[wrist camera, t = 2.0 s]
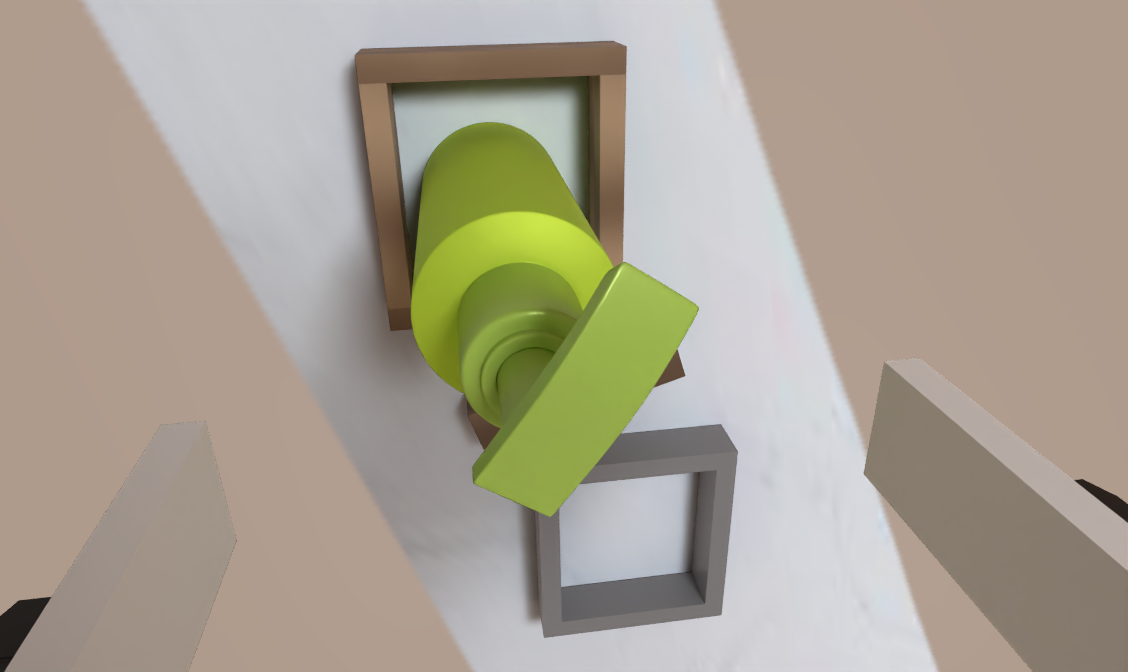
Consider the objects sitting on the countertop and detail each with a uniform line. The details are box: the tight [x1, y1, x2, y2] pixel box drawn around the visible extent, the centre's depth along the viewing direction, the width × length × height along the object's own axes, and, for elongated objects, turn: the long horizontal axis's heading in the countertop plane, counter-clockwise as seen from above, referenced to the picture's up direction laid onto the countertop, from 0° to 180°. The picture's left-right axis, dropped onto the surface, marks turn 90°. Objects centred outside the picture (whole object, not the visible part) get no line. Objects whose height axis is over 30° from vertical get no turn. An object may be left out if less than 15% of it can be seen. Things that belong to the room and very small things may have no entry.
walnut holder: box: [355, 41, 627, 331], centre depth 31 cm, size 11×10×2 cm
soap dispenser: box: [411, 122, 699, 517], centre depth 24 cm, size 6×7×20 cm
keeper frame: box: [535, 425, 738, 638], centre depth 40 cm, size 11×10×2 cm
